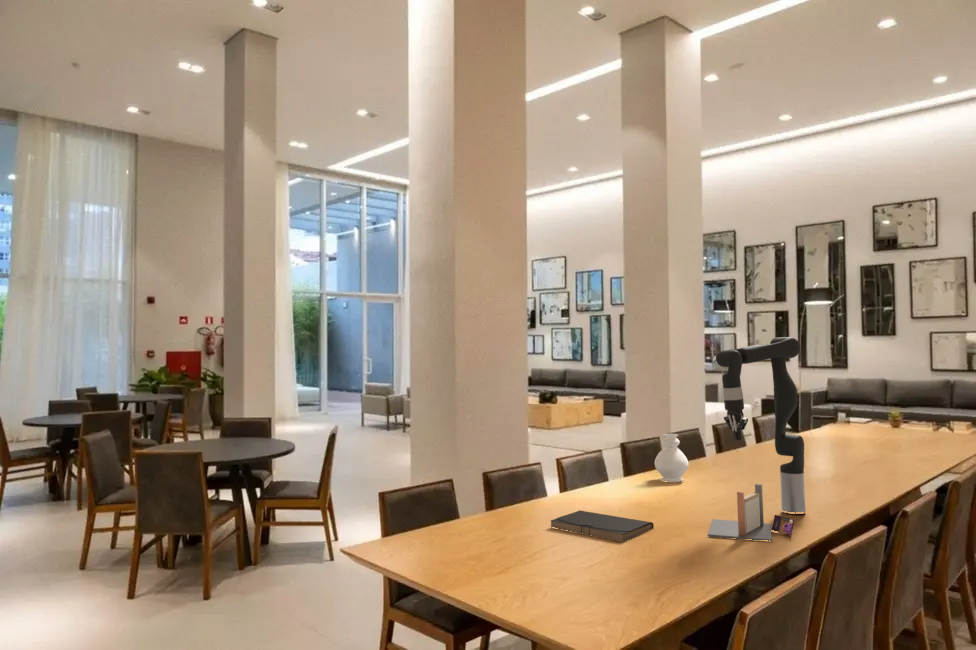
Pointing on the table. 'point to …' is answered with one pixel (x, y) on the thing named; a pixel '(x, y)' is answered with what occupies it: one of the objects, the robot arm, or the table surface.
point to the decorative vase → (671, 460)
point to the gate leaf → (752, 511)
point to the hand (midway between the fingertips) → (738, 440)
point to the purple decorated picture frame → (787, 526)
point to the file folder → (602, 525)
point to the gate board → (733, 530)
